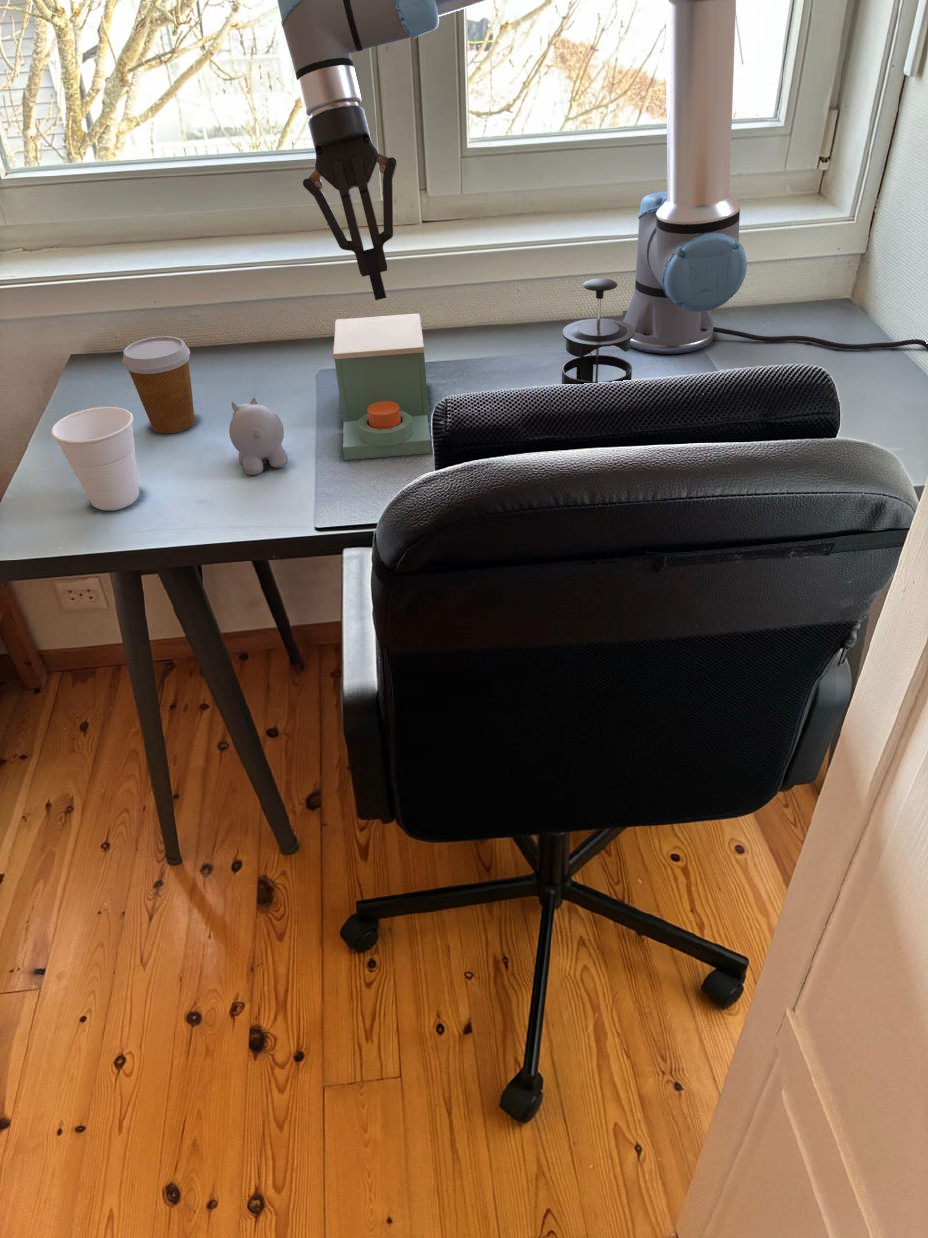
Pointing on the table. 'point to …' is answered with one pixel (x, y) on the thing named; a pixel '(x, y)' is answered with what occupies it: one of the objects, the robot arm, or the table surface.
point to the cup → (101, 454)
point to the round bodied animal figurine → (257, 436)
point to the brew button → (384, 415)
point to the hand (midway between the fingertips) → (381, 298)
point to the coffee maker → (382, 384)
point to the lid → (378, 336)
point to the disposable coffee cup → (162, 381)
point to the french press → (596, 341)
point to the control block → (386, 438)
